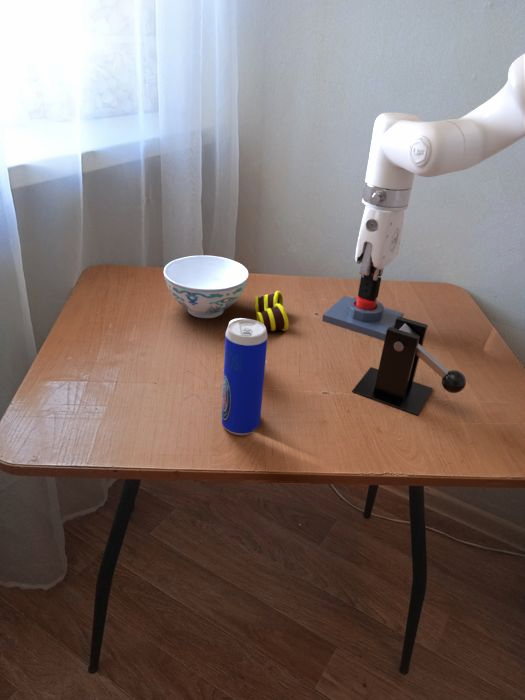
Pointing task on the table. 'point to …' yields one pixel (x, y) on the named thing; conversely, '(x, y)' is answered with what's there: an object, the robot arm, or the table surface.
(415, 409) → the switch bracket
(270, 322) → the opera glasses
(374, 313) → the switch box
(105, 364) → the table surface
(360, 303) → the button
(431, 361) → the switch lever
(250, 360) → the beverage can
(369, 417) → the table surface
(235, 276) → the chinaware
